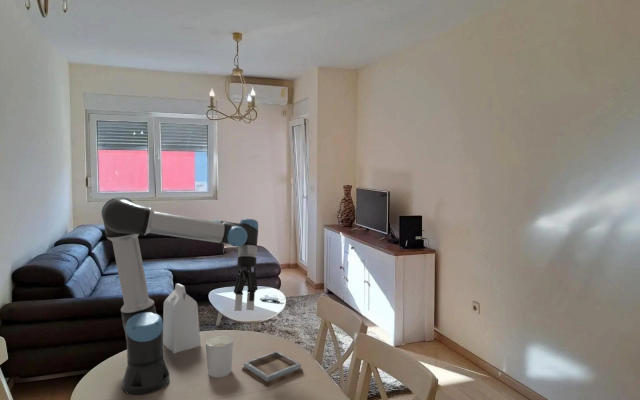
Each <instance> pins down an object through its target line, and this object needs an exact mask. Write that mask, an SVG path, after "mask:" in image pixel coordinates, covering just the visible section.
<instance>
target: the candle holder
mask: <svg viewBox="0 0 640 400" xmlns="http://www.w3.org/2000/svg"><path fill="white" fill-rule="evenodd" d="M233 345H234V339H233V338H232V337H231V336H229V335H217V336H211V337H210V338H208V339H206V340H205V350H206V351H205V352H206V362H207V364H206V365H207V373H208V376H209V377H211V378H216V379H219V378H220V379H221V378H226V377H227V376H230V374H231V373H232V369H233V368H232V367H233V349H234V348H233Z"/></svg>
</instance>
